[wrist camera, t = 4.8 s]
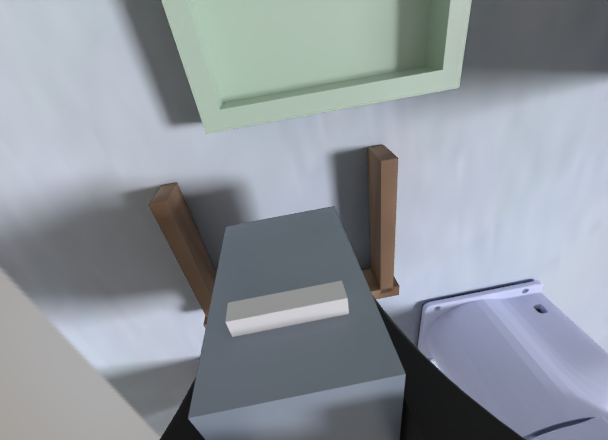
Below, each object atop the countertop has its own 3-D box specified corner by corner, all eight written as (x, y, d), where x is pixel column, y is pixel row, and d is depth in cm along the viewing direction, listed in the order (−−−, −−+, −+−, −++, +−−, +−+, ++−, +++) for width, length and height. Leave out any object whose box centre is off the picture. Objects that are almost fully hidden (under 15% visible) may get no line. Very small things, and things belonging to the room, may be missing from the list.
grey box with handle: (333, 193, 11) (407, 357, 6) (345, 315, 16) (395, 483, 10) (221, 214, 11) (176, 404, 5) (263, 331, 15) (264, 511, 10)
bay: (390, 143, 15) (406, 156, 13) (387, 273, 20) (398, 294, 18) (153, 186, 15) (139, 206, 13) (212, 307, 20) (207, 332, 18)
